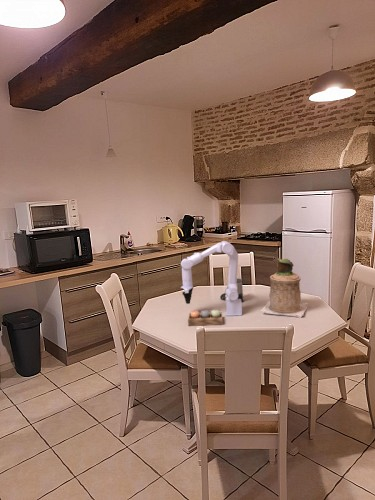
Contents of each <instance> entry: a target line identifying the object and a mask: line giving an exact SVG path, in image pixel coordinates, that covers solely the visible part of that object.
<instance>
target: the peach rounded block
mask: <svg viewBox="0 0 375 500" xmlns="http://www.w3.org/2000/svg"><path fill="white" fill-rule="evenodd" d="M190 313H191V318H199V313H200V312H199V310H191V311H190Z"/></svg>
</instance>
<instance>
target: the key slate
mask: <svg viewBox="0 0 375 500" xmlns="http://www.w3.org/2000/svg"><path fill="white" fill-rule="evenodd" d="M209 312H210V311H209V310H208V309H204V310H201V311H200V313H201V318H209Z"/></svg>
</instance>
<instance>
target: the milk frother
mask: <svg viewBox="0 0 375 500" xmlns="http://www.w3.org/2000/svg"><path fill="white" fill-rule="evenodd" d="M236 285H237V292H238V299H241V302H242V303H244V296H243V295H244V294H243V293H244V291H243V289H244V288H243V279H242V278H238V277H237V283H236ZM226 296H227V295H226V294H225V292H224V293H222V294H220V296H219V297H220V299H221V300H223V301H226Z"/></svg>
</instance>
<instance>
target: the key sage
mask: <svg viewBox="0 0 375 500" xmlns="http://www.w3.org/2000/svg"><path fill="white" fill-rule="evenodd" d="M211 312H212V318H214V317H220V312H221V311H220V310H219V309H212V310H211Z"/></svg>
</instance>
